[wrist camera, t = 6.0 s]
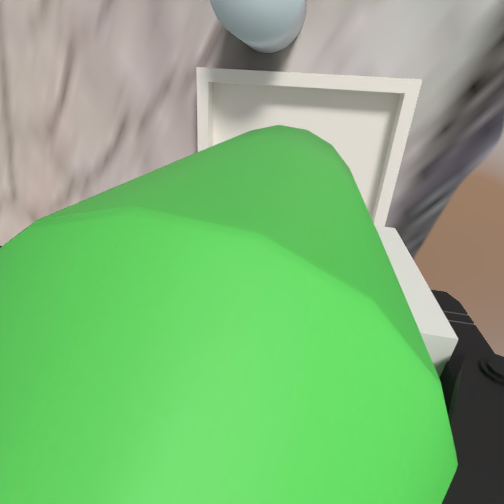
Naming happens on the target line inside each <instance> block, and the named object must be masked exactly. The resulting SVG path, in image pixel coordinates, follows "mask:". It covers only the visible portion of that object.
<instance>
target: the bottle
mask: <svg viewBox="0 0 504 504" xmlns="http://www.w3.org/2000/svg"><path fill="white" fill-rule="evenodd" d="M457 466H458V462H457V456H456V450H455V446H454V441H453V436H452V432H451V427H450V423H449V418H448V414H447V409H446V404H445V400H444V395H443V391H442V386H441V381H440V379H439V376H438V374H437V372H436V369H435V367H434V365H433V362H432V360H431V358H430V355H429V353H428V351H427V348H426V346H425V343H424V341H423V339H422V336H421V334H420V332H419V329H418V327H417V325H416V322H415V320H414V318H413V315H412V313H411V311H410V308H409V306H408V303H407V301H406V299H405V296H404V294H403V292H402V289H401V287H400V285H399V282H398V280H397V278H396V275H395V273H394V271H393V268H392V266H391V263H390V261H389V259H388V256H387V254H386V252H385V249H384V247H383V245H382V242H381V240H380V238H379V235H378V233H377V231H376V228H375V226H374V223H373V221H372V219H371V216H370V214H369V212H368V209H367V207H366V205H365V202H364V200H363V198H362V196H361V193H360V191H359V189H358V187H357V184H356V182H355V180H354V177H353V175H352V173H351V171H350V168H349V167H348V166H347V164H346V163H345V162H344V160H343V159H342V158H341V156H340V155H339V154H338V152H337V151H336V150H335V148H334V147H333V145H331V144H330V143H328V142H326V141H325V140H323V139H321V138H320V137H318V136H317V135H315V134H313V133H312V132H310V131H308V130H305V129H300V128H294V127H288V126H283V125H275V126H270V127H265V128H261V129H256V130H251V131H248V132H246V133H243V134H241V135H238V136H236V137H234V138H231V139H229V140H226V141H224V142H221V143H219V144H216V145H214V146H211V147H209V148H207V149H204V150H202V151H200V152H197V153H195V154H192V155H190V156H188V157H185V158H183V159H181V160H178V161H176V162H173V163H171V164H169V165H166V166H164V167H162V168H159V169H157V170H154V171H152V172H150V173H147V174H145V175H143V176H140V177H138V178H136V179H133V180H131V181H128V182H126V183H124V184H121V185H119V186H117V187H114V188H112V189H109V190H107V191H105V192H102V193H100V194H98V195H95V196H93V197H91V198H88V199H86V200H83V201H81V202H79V203H76V204H74V205H72V206H69V207H67V208H64V209H62V210H60V211H57V212H55V213H53V214H50V215H48V216H45V217H43V218H41V219H38V220H36V221H35V222H34V223H33V224H31V225H30V226H29V227H27V228H26V229H25V230H23V231H22V232H21V233H19V234H18V235H17V236H15V237H14V238H13V239H11V240H10V241H9V242H7V243H6V244H5V245H3V246H2V247H1V248H0V504H442V502H443V499H444V497H445V495H446V493H447V490H448V488H449V486H450V484H451V481H452V479H453V477H454V474H455V472H456V469H457Z"/></svg>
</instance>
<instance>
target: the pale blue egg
mask: <svg viewBox="0 0 504 504" xmlns="http://www.w3.org/2000/svg"><path fill="white" fill-rule="evenodd" d="M210 1H211V4H212V7H213V10H214V12H215V14H216V16H217V18H218V19H219V21H220V22H221V24H222V25H223V26H224V27H225V28H226V29H227V30H228V31H229V32H231V33H232V34H233V35H235V36H236V37H237V38H239V39H240V40H241V41H243V42H244V43H245V44H247V45H248V46H249V47H251V48H252V49H254V50H256V51H258V52H262V53H274V52H278V51H281V50H282V49H284V48H286V47H287V46H289V45H290V44H291V43H292V42H293V41H294V40H295V39H296V37H297V36H298V34H299V33H300V31H301V29H302V26H303V24H304V20H305V16H306V6H307V5H306V0H210Z"/></svg>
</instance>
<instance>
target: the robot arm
mask: <svg viewBox="0 0 504 504" xmlns="http://www.w3.org/2000/svg"><path fill="white" fill-rule="evenodd" d="M375 228H376V231H377V233H378V235H379V238H380V240H381V242H382V245H383V247H384V249H385V252H386V254H387V256H388V259H389V261H390V263H391V266H392V268H393V271H394V273H395V275H396V278H397V280H398V282H399V285H400V287H401V289H402V292H403V294H404V296H405V299H406V301H407V303H408V306H409V308H410V311H411V313H412V315H413V318H414V320H415V322H416V325H417V327H418V329H419V332H420V334H421V336H422V339H423V341H424V343H425V346H426V348H427V351H428V353H429V355H430V358H431V360H432V362H433V365H434V367H435V369H436V372H437V374H438V376H439V379H440V381H441V386H442V391H443V395H444V400H445V404H446V409H447V414H448V418H449V423H450V427H451V432H452V436H453V441H454V446H455V450H456V456H457V462H458V466H457V469H456V472H455V474H454V477H453V479H452V481H451V484H450V486H449V488H448V490H447V493H446V495H445V497H444V499H443V502H442V504H504V357H503V356H499V355H496V354H495V353H494V352H493V350H492V349H491V347H490V346H489V344H488V343H487V342H486V340H485V339H484V337H483V336H482V334H481V333H480V331H479V330H478V329H477V327H476V326H475V325H473V321H472V320H471V318H470V317H469V316H467V312H466V311H465V309H464V308H463V307H462V305H461V304H460V302H459V301H457V300H456V299H454V298H453V297H452V296H451V295H449V294H448V293H447V292H443V291H435V290H430V288H429V287H428V285H427V283H426V281H425V280H424V278H423V277H422V274H421V273H420V271H419V269H418V268H417V266H416V264H415V262H414V260H413V259H412V257H411V255H410V254H409V252H408V250H407V248H406V247H405V245H404V243H403V241H402V240H401V238H400V236H399V234H398V233H397V231H396V229H395V228H389V227H380V226H375ZM1 247H2V246H0V248H1Z"/></svg>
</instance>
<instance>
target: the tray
mask: <svg viewBox="0 0 504 504" xmlns="http://www.w3.org/2000/svg"><path fill="white" fill-rule="evenodd" d="M421 83H422V80H421V79H403V78H385V77H367V76H348V75H330V74H312V73H293V72H275V71H257V70H239V69H220V68H202V67H197V132H198V152H200V151H202V150H204V149H207V148H209V147H211V146H214V145H216V144H219V143H221V142H224V141H226V140H229V139H231V138H234V137H236V136H238V135H241V134H243V133H246V132H248V131H251V130H256V129H261V128H265V127H270V126H275V125H283V126H288V127H294V128H300V129H305V130H308V131H310V132H312V133H313V134H315V135H317V136H318V137H320V138H321V139H323V140H325V141H326V142H328V143H330V144H331V145H333V147H334V148H335V150H336V151H337V152H338V154H339V155H340V156H341V158H342V159H343V160H344V162H345V163H346V164H347V166H348V167H349V168H350V171H351V173H352V175H353V177H354V180H355V182H356V184H357V187H358V189H359V191H360V193H361V196H362V198H363V200H364V202H365V205H366V207H367V209H368V212H369V214H370V216H371V219H372V221H373V223H374V226H380V227H384V226H385V222H386V219H387V215H388V211H389V207H390V203H391V199H392V195H393V191H394V188H395V184H396V180H397V176H398V172H399V168H400V164H401V160H402V157H403V153H404V149H405V145H406V141H407V137H408V133H409V129H410V126H411V122H412V118H413V114H414V110H415V106H416V102H417V98H418V95H419V91H420V87H421Z"/></svg>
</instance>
